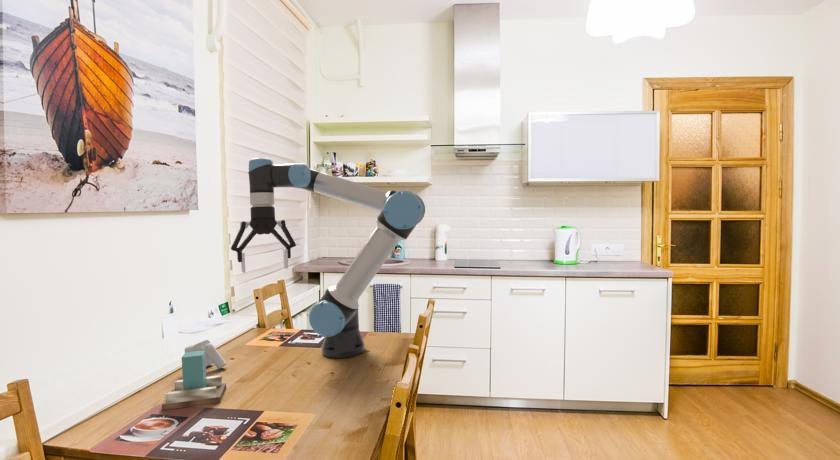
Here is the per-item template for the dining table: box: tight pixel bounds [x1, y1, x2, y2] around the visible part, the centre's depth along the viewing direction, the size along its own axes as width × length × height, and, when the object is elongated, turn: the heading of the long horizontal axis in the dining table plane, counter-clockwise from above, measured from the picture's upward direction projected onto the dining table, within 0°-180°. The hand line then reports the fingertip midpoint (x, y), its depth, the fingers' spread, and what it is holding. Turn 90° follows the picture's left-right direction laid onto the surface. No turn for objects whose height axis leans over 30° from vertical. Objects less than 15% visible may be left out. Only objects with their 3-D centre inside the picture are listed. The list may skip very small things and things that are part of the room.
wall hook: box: [184, 339, 227, 370], centre depth 145 cm, size 8×10×10 cm
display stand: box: [161, 374, 227, 411], centre depth 121 cm, size 14×10×4 cm
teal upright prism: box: [181, 350, 208, 390], centre depth 121 cm, size 5×4×11 cm
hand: (265, 270), depth 146 cm, fingers open, 13 cm apart
